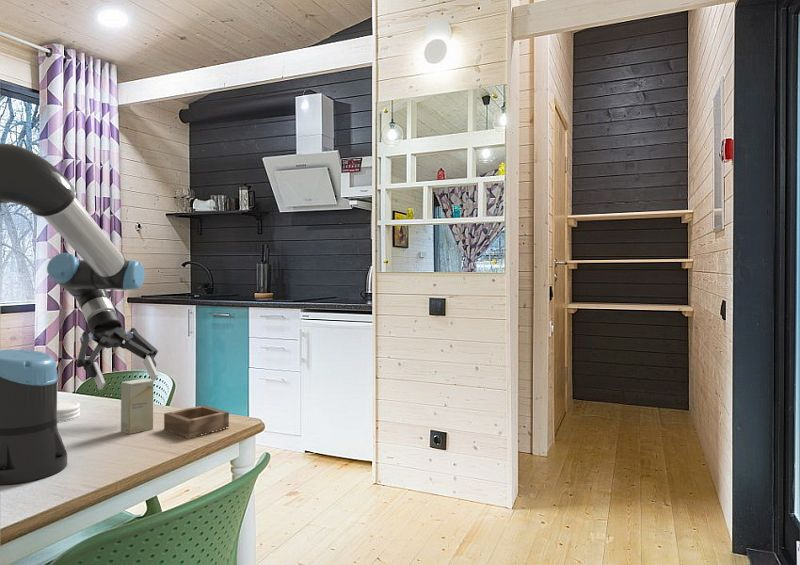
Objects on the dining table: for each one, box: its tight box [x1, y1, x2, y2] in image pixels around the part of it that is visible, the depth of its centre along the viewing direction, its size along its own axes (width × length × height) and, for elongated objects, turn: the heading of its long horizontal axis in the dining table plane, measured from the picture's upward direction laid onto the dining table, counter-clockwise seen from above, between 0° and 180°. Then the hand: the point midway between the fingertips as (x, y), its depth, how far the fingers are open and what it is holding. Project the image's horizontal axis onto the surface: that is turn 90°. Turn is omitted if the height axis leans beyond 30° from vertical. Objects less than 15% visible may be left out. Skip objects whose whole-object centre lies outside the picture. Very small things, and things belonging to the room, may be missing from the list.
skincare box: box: [120, 378, 154, 435], centre depth 140 cm, size 6×4×12 cm
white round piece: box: [57, 401, 81, 423], centre depth 150 cm, size 10×10×4 cm
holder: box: [163, 404, 230, 439], centre depth 142 cm, size 11×11×4 cm
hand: (129, 382), depth 145 cm, fingers open, 13 cm apart
